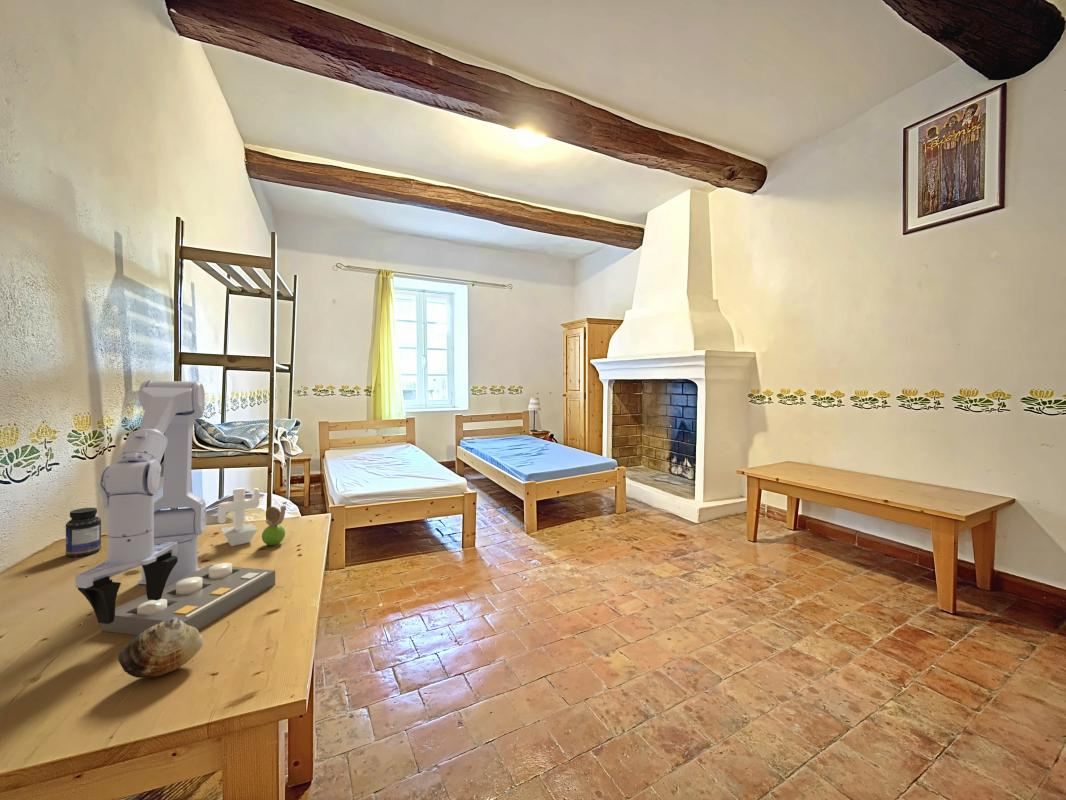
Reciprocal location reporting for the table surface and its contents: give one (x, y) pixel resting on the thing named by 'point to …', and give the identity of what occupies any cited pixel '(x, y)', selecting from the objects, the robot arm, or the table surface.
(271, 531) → the snail figurine
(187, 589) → the button middle
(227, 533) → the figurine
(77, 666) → the table surface
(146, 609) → the button
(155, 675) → the seashell
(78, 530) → the pill bottle
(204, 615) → the switch console
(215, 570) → the button
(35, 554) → the table surface
